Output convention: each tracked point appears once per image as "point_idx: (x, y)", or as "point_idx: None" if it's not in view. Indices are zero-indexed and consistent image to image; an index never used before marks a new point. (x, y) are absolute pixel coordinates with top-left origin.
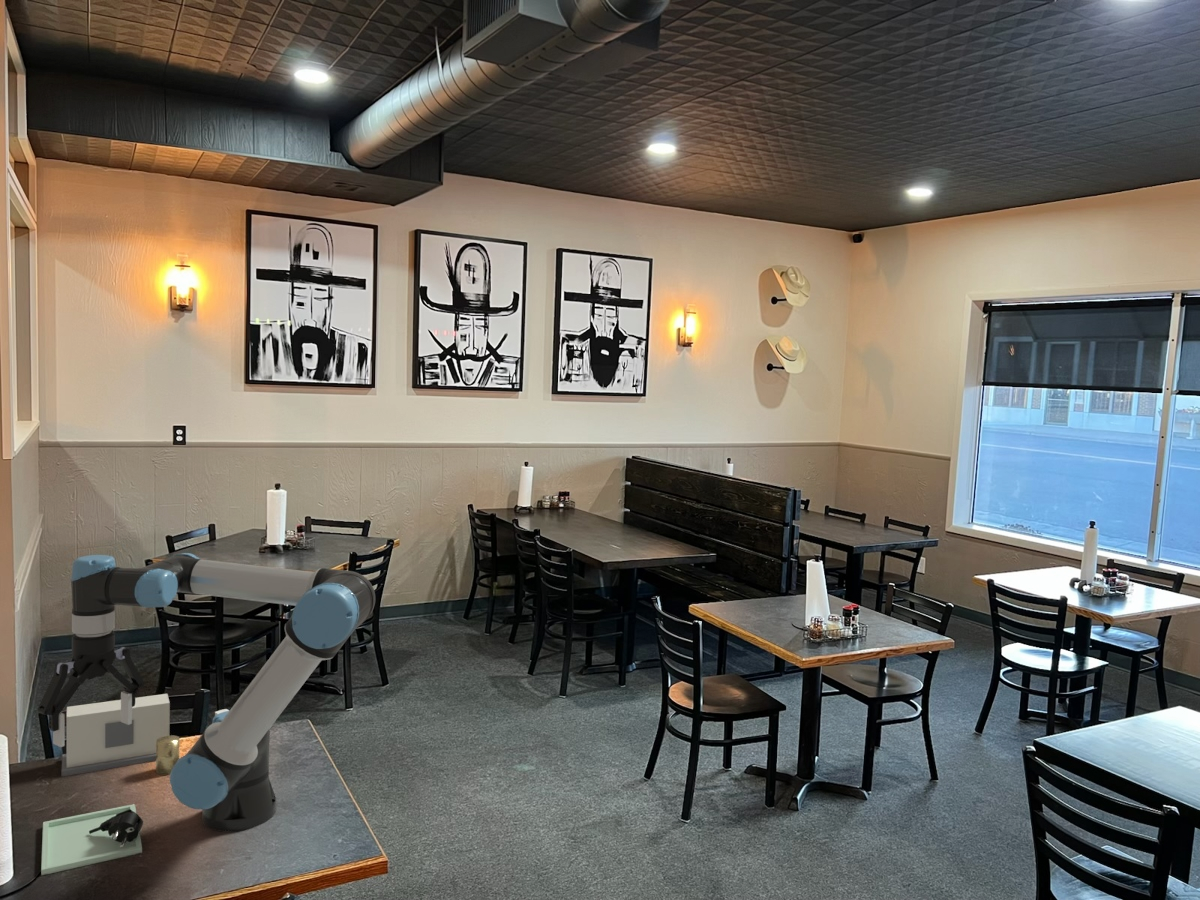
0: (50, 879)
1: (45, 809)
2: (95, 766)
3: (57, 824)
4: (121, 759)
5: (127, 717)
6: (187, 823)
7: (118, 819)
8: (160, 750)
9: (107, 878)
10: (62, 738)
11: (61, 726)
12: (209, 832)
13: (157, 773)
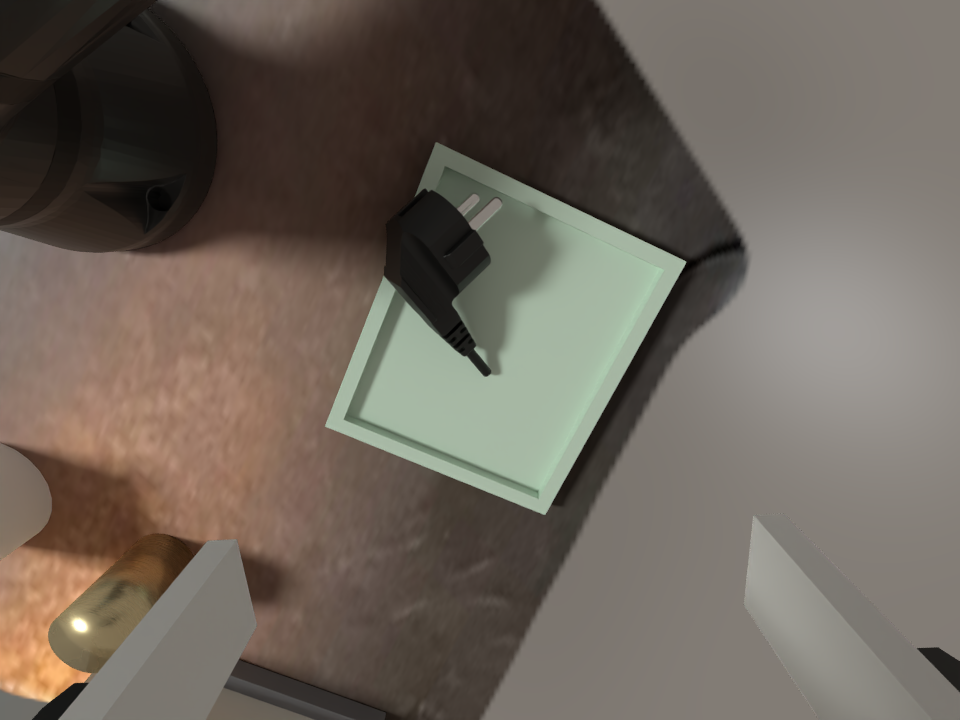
0: (669, 229)
1: (489, 592)
2: (306, 700)
3: (518, 486)
4: (239, 688)
5: (207, 594)
6: (251, 219)
7: (465, 241)
8: (138, 612)
9: (572, 93)
10: (809, 560)
11: (915, 658)
12: (223, 100)
13: None
